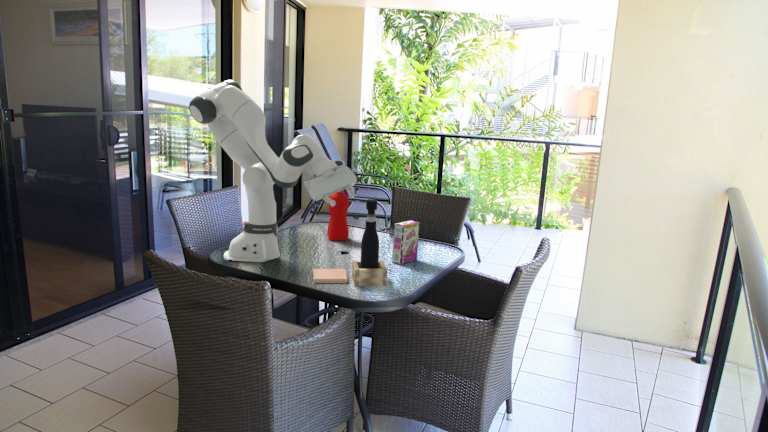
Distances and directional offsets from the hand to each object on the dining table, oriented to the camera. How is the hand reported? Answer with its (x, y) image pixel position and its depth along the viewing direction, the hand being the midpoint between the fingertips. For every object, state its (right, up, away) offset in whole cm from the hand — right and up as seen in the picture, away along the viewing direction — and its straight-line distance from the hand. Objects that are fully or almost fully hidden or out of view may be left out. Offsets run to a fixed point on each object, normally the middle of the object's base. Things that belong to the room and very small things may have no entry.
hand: (344, 201), depth 212 cm
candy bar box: (+23, -24, +26) cm, 43 cm away
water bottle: (-8, -16, +58) cm, 61 cm away
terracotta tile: (-5, -28, +1) cm, 29 cm away
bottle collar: (+9, -29, -1) cm, 31 cm away
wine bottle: (+9, -29, -1) cm, 31 cm away
